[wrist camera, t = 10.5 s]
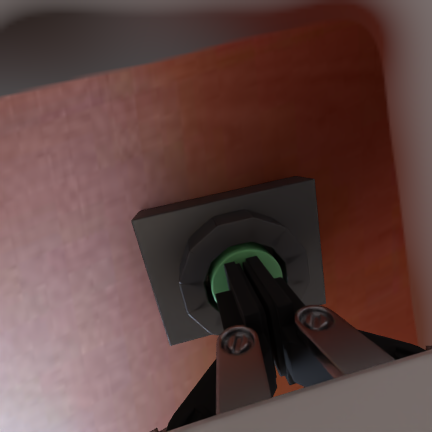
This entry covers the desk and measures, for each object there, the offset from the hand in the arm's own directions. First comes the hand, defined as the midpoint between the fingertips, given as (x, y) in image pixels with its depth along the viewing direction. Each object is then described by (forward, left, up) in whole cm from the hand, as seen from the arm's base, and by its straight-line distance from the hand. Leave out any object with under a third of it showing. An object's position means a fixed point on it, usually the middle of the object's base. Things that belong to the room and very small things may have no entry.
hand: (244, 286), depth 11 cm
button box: (0, 0, -4) cm, 4 cm away
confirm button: (0, 0, -2) cm, 2 cm away
